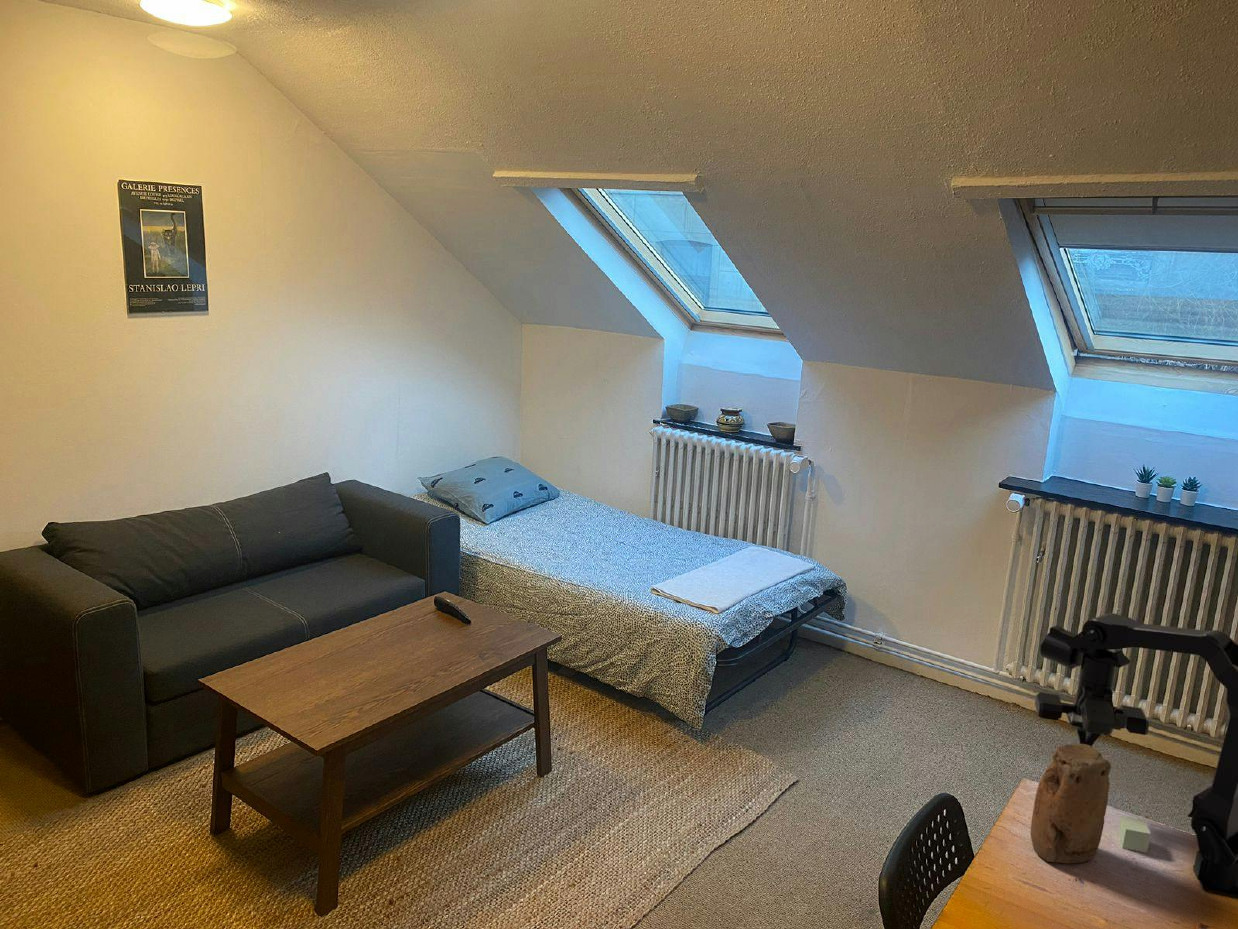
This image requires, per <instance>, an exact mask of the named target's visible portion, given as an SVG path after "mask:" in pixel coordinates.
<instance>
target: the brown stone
mask: <svg viewBox="0 0 1238 929" xmlns="http://www.w3.org/2000/svg"><path fill="white" fill-rule="evenodd" d="M1111 769H1112V765H1111V762H1109V760H1108V759H1106V758H1103V756H1102V753H1101V752H1100V751H1099V750H1098V749H1096V748H1095V747H1093V746H1092V747H1091V746H1089V745H1086V744H1079V743H1077V744H1072V743H1071V744H1070V743H1069V744H1063V745H1060V746H1057V747H1056V748H1055V749H1054V752H1053V753H1052V758H1051V762H1050V763H1049V764H1048V765H1047V767H1046V770H1044V772H1043V774H1042V777H1041V779H1040V780H1039V782H1038V785H1037V788H1036V789H1037V790H1036V793H1035V796H1034V797H1035V798H1034V803H1033V810H1032V816H1031V821H1030V822H1031V824H1030V839H1031V843H1032V846H1033V850H1034V852H1035V854H1037V856H1039V858H1042V859H1043V860H1044V861H1047V862H1050V863H1051V862H1052V863H1061V864H1062V863H1063V864H1074V863H1085V862H1088V861H1090V860H1092V859H1093V858H1094V857H1096V855H1097V853H1098V849H1099V846H1100V843H1101V840H1102V836H1103V831H1104V826H1105V815H1106V812H1107V807H1108V801H1109V799H1108V798H1109V792H1110V784H1111V782H1110V777H1109V776H1110V774H1111V773H1110V772H1111Z"/></svg>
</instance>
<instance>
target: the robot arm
mask: <svg viewBox="0 0 1238 929" xmlns="http://www.w3.org/2000/svg"><path fill="white" fill-rule="evenodd" d="M1127 648H1128V649H1129V648H1130V649H1131V648H1140V649H1147V650H1155V651H1162V652H1171V653H1177V654H1184V655H1185V654H1186V655H1193V656H1200V657H1201V658H1202V659H1203V660H1204V661H1205V662H1206V663H1207V665H1208V666H1209V667H1208V668H1210V670H1211V672H1212V674H1213V676H1215V678H1216V680H1217V681H1219V683H1220V684H1221V685H1222V686H1224V688H1225V689H1226V696H1225V699H1226V700H1225V701H1226V706H1227V709H1228V712H1229V719H1228V724H1227V728H1226V731H1225V733H1224V734H1225V735H1224V738H1223V742H1222V746H1221V750H1220V753H1219V757H1218V761H1217V765H1216V768H1215V772H1214V775H1213V780H1212V783H1211V786H1209V787H1207V788H1206V789H1204V790H1202V791H1200V792H1198V793H1196V794H1195V795H1194V796H1193V798H1192V808H1191V811H1190V812H1189V813H1188V815H1187V817H1188V818H1191V820H1190V826H1191V830H1192V831H1194V833H1195V835H1196V840H1197V846H1198V850H1197V852H1196V856H1195V860H1194V864H1193V866H1192V868H1193V873H1194V875H1195V877H1196V879H1197V880H1198V882H1199V883H1200V886H1201V889H1202V890H1204V891H1205V892H1209V893H1214V894H1219V895H1223V896H1229V897H1235V898H1238V643H1237V642H1236V641H1235V640H1234V639H1232V638H1231V637H1230V636H1229V635H1228V634H1227V633H1226V632H1224V631H1221V630H1217V629H1215V630H1214V629H1213V630H1203V629H1194V628H1186V627H1177V626H1166V625H1160V624H1159V625H1156V624H1150V623H1149V624H1147V623H1142V622H1139V621H1136V620H1135V619H1133V618H1131V617H1129V616H1125V615H1121V614H1117V613H1113V612H1108V613H1104V614H1102V615H1098V616H1095V617H1093V618H1090V619H1087V620H1086V621H1085V623H1083V626H1082V630H1081V631H1080V632H1079V633H1078V634H1077V633H1075V632H1073V631H1070V630H1067V629H1065V628H1064V627H1062V626H1060V625H1054V626H1051V627H1050V628H1049V632H1048V633H1047V634H1046V636H1045V637H1044V639H1043V641H1042V643H1041V644H1040V648H1039V652H1040V656H1041V657H1042V658H1043V659H1046V660H1048V661H1051V662H1053V663H1056V664H1058V665H1061V666H1063V667H1065V668H1067V669H1070V670H1073V669H1075V668H1076V667H1080V673H1079V674H1078V684H1077V690H1076V694H1075V696H1074V703H1070V702H1069V703H1068V702H1062V701H1061V698H1060V695H1059V694H1054V693H1046V692H1043V691H1042V692H1041V691H1040V692H1039V693H1037V694H1036V696H1035V700H1034V701H1035V702H1034V706H1035V709H1036V712H1037V714H1036V715H1037V717H1040V718H1041V719H1045V720H1051V721H1058V720H1060V719H1062V717H1063V714H1065V715H1066V717H1067V720H1068V723H1069V725H1070V727H1074V728H1075V729H1076V735H1077V738H1078V744H1086V745H1089V746H1091V747H1093V745H1094V744H1095V742H1097V740H1098V739H1099V737H1101V735H1104V736H1111V735H1112V733H1113V731H1114V730H1116V731H1121V730H1124V729H1126V731H1127V732H1128V733H1129V734H1130V733H1131V734H1136V735H1143V736H1146V735H1148V733H1149V730H1150V729H1149V728H1150V721H1149V719H1148V717H1147V716H1146V713H1145V712H1144V710H1143V709H1142V708H1141V707H1136V706H1128V705H1123V704H1121V705H1120V706H1118V707H1119V708H1118V707H1117V706H1114V702H1113V697H1114V696H1113V695H1114V692H1113V689H1114V688H1113V687H1114V683H1115V677H1116V673H1117V671H1116V670H1117V669H1120V668H1123V667H1125V666H1128V665H1130V664H1131V660H1130V659H1129V657H1128V656H1127V655H1125V653H1124V652H1123V650H1122V649H1127ZM1114 650H1118V651H1114Z"/></svg>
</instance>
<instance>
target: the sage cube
mask: <svg viewBox="0 0 1238 929" xmlns="http://www.w3.org/2000/svg"><path fill="white" fill-rule="evenodd" d="M1117 830H1118V831H1117V837H1119V838H1118V839H1119V840H1118V841H1119V843H1120V842H1121V843H1120V846H1121V845H1122V846H1121V848H1122V849H1127V850H1130V849H1131V851H1135V850H1136V852H1141V853H1146V852H1147V853H1148V849H1149V844H1150V840H1151V836H1152V835H1151V831H1150V829H1149V827H1148V824H1147V822H1146V820H1143V819H1139V818H1138V819H1137V818H1133V817H1128V816H1122V815H1121V816H1120V821H1119V824H1118V829H1117Z"/></svg>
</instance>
